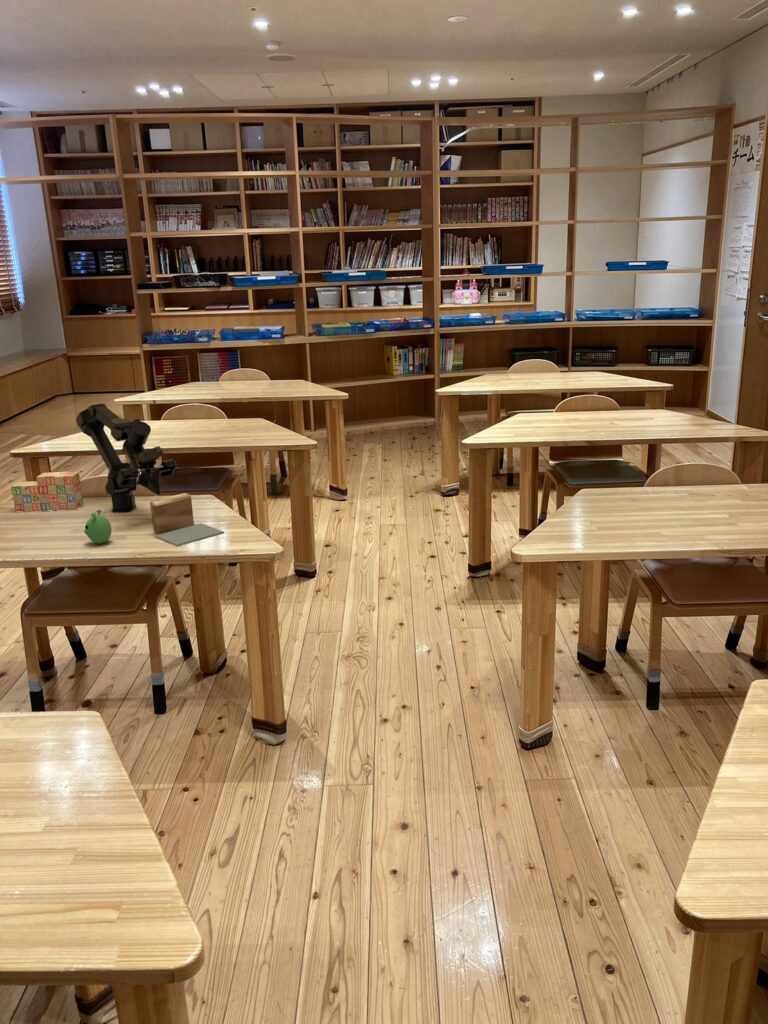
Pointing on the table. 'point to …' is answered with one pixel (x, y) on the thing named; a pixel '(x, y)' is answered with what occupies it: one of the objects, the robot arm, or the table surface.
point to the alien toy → (98, 528)
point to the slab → (172, 513)
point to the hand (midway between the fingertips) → (158, 494)
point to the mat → (189, 534)
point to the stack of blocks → (49, 492)
